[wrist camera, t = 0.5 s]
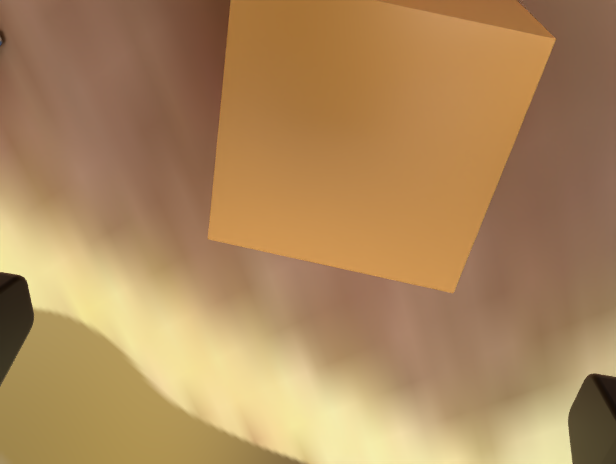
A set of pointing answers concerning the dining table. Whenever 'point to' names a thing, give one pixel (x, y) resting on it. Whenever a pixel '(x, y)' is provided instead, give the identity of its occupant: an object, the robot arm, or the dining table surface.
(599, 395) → the robot arm
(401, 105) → the tan orange cube
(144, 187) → the dining table surface
